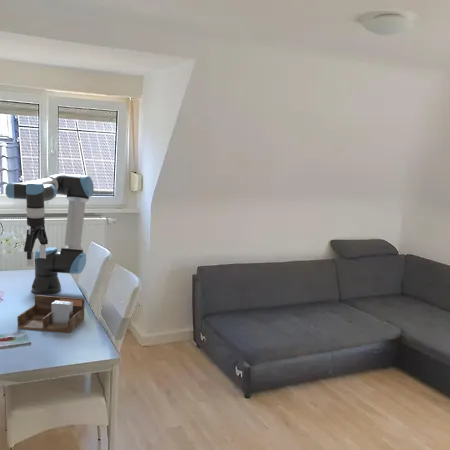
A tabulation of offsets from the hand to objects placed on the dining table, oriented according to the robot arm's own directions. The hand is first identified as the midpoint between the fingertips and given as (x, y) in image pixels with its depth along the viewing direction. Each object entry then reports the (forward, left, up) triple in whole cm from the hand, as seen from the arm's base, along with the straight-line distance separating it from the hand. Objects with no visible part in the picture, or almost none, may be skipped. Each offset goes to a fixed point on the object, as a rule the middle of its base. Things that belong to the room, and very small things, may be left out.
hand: (36, 261), depth 226 cm
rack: (+9, +11, -26) cm, 29 cm away
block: (+11, +17, -25) cm, 32 cm away
